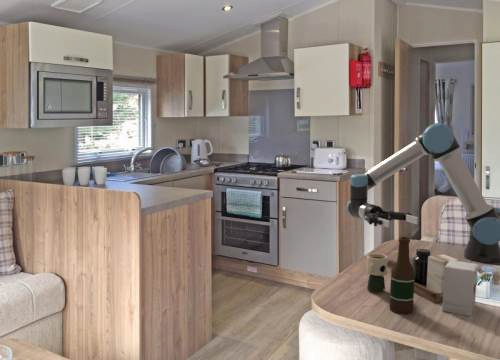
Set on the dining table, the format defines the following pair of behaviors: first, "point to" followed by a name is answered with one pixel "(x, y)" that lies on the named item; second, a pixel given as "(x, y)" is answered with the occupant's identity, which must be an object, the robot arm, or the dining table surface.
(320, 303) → the dining table surface
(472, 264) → the supplement box
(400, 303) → the beer bottle
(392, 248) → the dining table surface
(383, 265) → the character mug
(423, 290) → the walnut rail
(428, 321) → the dining table surface
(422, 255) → the supplement bottle
